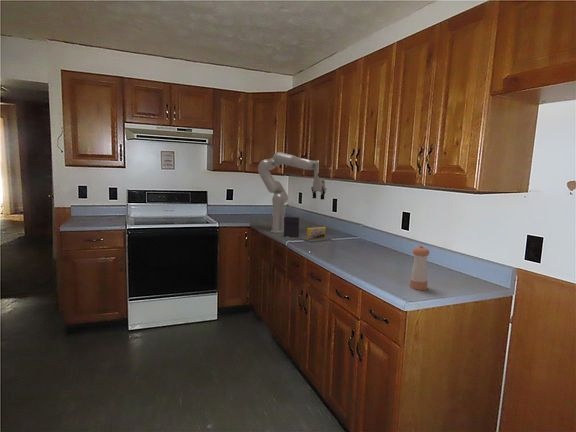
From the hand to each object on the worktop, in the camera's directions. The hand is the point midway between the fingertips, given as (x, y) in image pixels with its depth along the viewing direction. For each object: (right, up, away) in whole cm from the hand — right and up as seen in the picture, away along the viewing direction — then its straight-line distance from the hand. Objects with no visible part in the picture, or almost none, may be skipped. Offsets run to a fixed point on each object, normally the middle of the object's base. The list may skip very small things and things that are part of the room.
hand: (318, 198), depth 283 cm
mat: (-3, -31, -16) cm, 35 cm away
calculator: (-21, -29, -5) cm, 36 cm away
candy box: (-3, -30, -16) cm, 34 cm away
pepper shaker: (+35, -46, -118) cm, 131 cm away
